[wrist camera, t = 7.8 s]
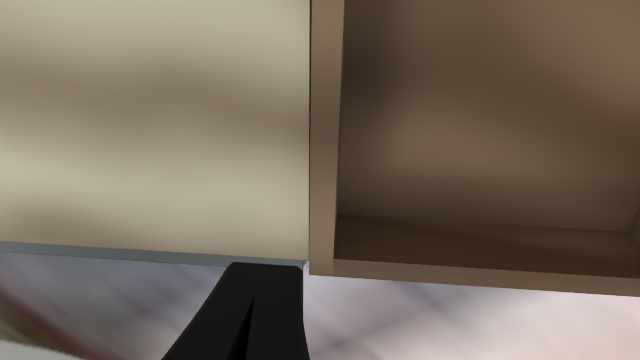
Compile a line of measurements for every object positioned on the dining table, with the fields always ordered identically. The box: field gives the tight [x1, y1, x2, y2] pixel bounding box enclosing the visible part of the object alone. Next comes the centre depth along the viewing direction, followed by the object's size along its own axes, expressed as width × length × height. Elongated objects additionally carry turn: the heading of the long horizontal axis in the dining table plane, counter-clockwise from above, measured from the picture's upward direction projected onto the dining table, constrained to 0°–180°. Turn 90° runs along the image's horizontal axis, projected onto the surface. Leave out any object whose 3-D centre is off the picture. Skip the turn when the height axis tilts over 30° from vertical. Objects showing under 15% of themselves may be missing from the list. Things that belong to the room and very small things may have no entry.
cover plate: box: [0, 0, 312, 260], centre depth 18 cm, size 11×12×2 cm
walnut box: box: [309, 0, 640, 297], centre depth 17 cm, size 11×12×3 cm
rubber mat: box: [0, 241, 303, 271], centre depth 19 cm, size 16×16×1 cm
